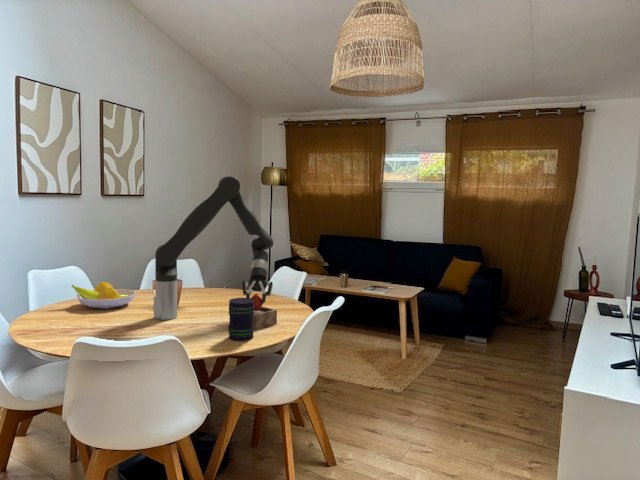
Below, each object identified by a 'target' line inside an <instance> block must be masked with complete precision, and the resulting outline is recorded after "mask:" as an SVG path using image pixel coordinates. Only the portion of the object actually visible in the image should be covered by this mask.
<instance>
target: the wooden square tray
mask: <svg viewBox="0 0 640 480" xmlns="http://www.w3.org/2000/svg"><path fill="white" fill-rule="evenodd" d="M277 315H278V309H276V308H271V307H266V306H262V307H261V308H260V309H259V310H258V311H254V314H253V324H254V331H255V330H258V329H263V328H266V327H269V326H273V325H276V324H277V321H278V320H277V318H278V316H277Z"/></svg>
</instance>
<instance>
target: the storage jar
mask: <svg viewBox="0 0 640 480" xmlns="http://www.w3.org/2000/svg"><path fill="white" fill-rule="evenodd" d="M253 314H254V300H253V299H251V297H250V298H246V297H235V298H231V299H229V301H228V315H229V322H228V323H229V324H228V339H229V340H231V341H234V342H247V341H250V340H253V339H254V332H255V329H254V324H253Z"/></svg>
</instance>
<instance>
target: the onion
mask: <svg viewBox="0 0 640 480" xmlns="http://www.w3.org/2000/svg"><path fill="white" fill-rule="evenodd" d="M250 299H253V300H254V311H258V310H259V309H260V308H261V307H263V304H262V297H260V296H259V295H258V293H257V292H256V293H254V295H252V296H251V297H250Z"/></svg>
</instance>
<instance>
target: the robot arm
mask: <svg viewBox="0 0 640 480" xmlns="http://www.w3.org/2000/svg"><path fill="white" fill-rule="evenodd" d="M240 189H241V182H240V180H239V179H238V178H237V177H235V176H232V175H231V176H230V175H227V176H224V177H222V178H221V179H220V180H219V181H218V186H217V188H215V190H213V193H212V194H211V195H210V196H208V198H206V199H205V200H203V201H202V202H201V203H200V204H199V205H197V206H196V207H195V208H194V209H193V210H192V211H191V213H189V214H188V216H187V217H186V218H185V219H184V220H183V222H182V223H181V225H180V226H179V227H178V229H177V231H176V232H175V233H174V235H173V236H172V237H171V238H170V239H168V240H167V242H165V243H164V244H161V245H160V246H158V247H157V248H156V250H155V254H154V255H155V258H154V259H155V260H154V262H155V263H154V264H155V269H154V270H155V271H154V272H155V273H154V274H155V277H154V278H155V296H154V297H153V318H154V319H157V320H160V321H163V320H164V321H165V320H166V321H167V320H173V319H176V318H178V262H177V261H178V258H179V256H181V254H182V252H184V251H185V249H186V247H187V246H188V245H189V244H190V243H192V242H193V241H194V240H195V239H196V238H197V237H198V236H199V235H200V234H201V233H202V232H203V231H204V230H205V229H206V228H207V227H208V226H209V224H210V223H211V222H213V219H215V218H216V216H217V215H218V213H219V212H220V211H221V210H222V208H223V207H224V206H225V205H226V204H227V203H229V204H230V205H231V206H232V208H233V210H234V212H235V213H236V215H237V217H238V219H239V221H240V222H241V224H242V225H243V228H244V229H245V231H246V232H247V234H248V235H249V236H257V237H255V238H254V239H253V240H252V241H251V250H252V255H253V257H252V262H251V268H250V273H249V274H250V275H249V279H248V281H244V280H242V282H241V286H242V294H243V296H245V298H250V299H251V294H253V292H261V293H262V295H261V299H262V305H264V303H266V300H267V299H266V298H267V296H268V297H269V296H271V295H272V291H273V287H274V284H273V281H270V282H269V281H268V282H267V279H268V277H267V276H268V272H269V271H268V266H269V265H268V263H269V254H268V252H267V250H269V249H272V247H273V246H274V240H273V237H272V235H270V234H269V233H268V231H266V230H265V228H264V227H263V226H261V224H260V222H259V220H258V218H257V217H256V215H255V213H254V212H253V210H251V209H250V207H249V205H248V204H247V203H246V201H245V200H244V197H243V196H242V194H241V192H240ZM248 286H249V287H248ZM266 286H267V291H266V290H265V288H266ZM247 287H248V290H247Z"/></svg>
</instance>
